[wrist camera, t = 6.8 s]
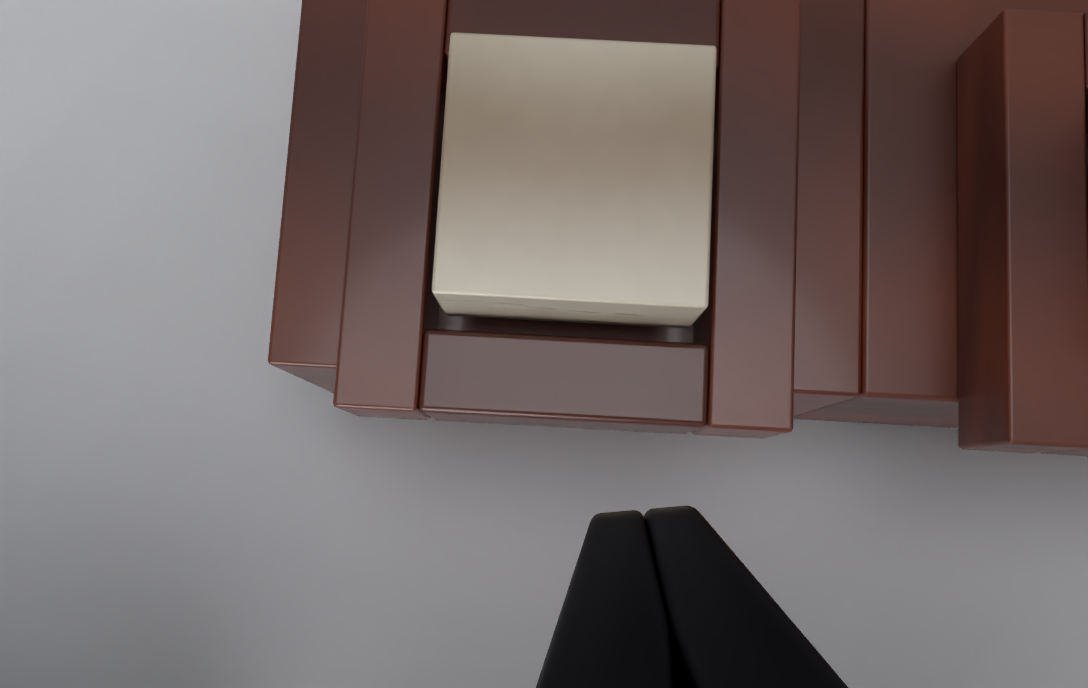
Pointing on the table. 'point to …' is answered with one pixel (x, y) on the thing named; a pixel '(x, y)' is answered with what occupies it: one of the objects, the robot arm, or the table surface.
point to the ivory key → (576, 180)
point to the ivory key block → (567, 347)
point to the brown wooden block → (975, 223)
